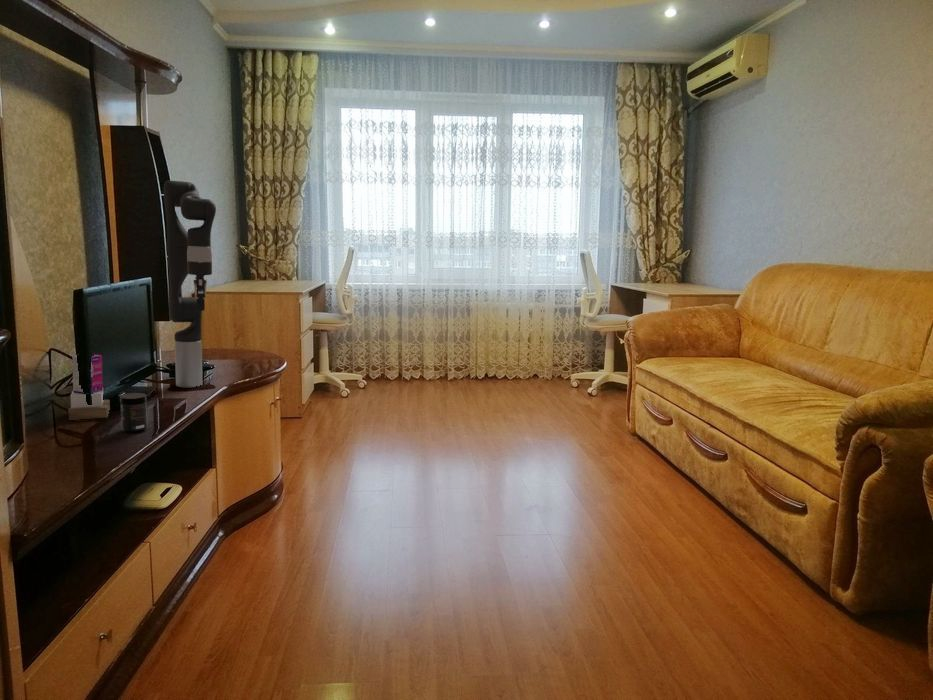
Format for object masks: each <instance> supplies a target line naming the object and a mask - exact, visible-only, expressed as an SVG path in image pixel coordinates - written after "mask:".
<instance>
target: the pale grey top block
mask: <svg viewBox="0 0 933 700" xmlns="http://www.w3.org/2000/svg"><path fill="white" fill-rule="evenodd" d="M103 394H104V390H103V391H99V392H95V393H93V394H91V396H92V405H88V404H87V402H86V394H80V393H73V390H72V391H71V393H70V406H71V408H82V407H99V406H102V404H103V401H104V400H105V399H104V400H103Z"/></svg>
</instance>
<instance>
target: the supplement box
mask: <svg viewBox="0 0 933 700" xmlns="http://www.w3.org/2000/svg"><path fill="white" fill-rule="evenodd" d="M77 355H78V354H76V355H72V391H73V393H80V394H84V392H83V389H81V385H79V371H78V363H77ZM90 371H91V377H92V392H93V393H95V392H99V391H103V392H104V386H103V384H104V383H103V355H102V354H101V355H100V354H94V356H92V357H91V370H90ZM86 394H89V393H86Z"/></svg>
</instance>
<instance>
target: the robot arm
mask: <svg viewBox="0 0 933 700" xmlns="http://www.w3.org/2000/svg"><path fill="white" fill-rule="evenodd" d="M163 202H164V210H165V219H166V235H167V236H166V247H167V249H166V250H167V251H166V252H167V265H168V276H169V279H168V280H169V283H168V284H169V291H168V292H169V293H168V295H169V297H168V298H169V299H168V300H169V301H168V303H169V304H168V307H169V308H168V309H169V311H168V312H169V317H170V321H171V322H173V323H190V325H188V326H187V327H186V328H184V329H181V330H178V331H175V333H174V359H175V362H174V363H175V386H176V387H179V388H196V386H197V387H201V386H203V343H202V342H203V341H202V339H203V337H202V318H203V311H205V307H206V306H205V304H206V303H205V300H206V293H207V284H208V283H207V280H206V279H205V276H211V275H212V274H213V258H212V257H213V255H212V245H211V244H212V243H211V239H212V237H211V235H212V234H211V233H212V227H213V224H214V220H215V217H216V213H217V207H216V204H215V202H214V201H213V200H211V199H209V198H202V197H201V196H200V193H199V190H198V188H197V186H196V184H195V183H193V182H189V181H182V180H181V181H180V180H166V181H165V182H164V184H163ZM176 208H180V213H181V215H182V218H184V219H186V220H189V221H203V223H202V225H200V226H197V227H190V228H189V229H187V230H186V228H185V227H184V226H183V224H182V222H181V221H180V219H179V216H178V215H177V210H176ZM188 275H191V276H195V279H193V287H194V294H195V297H194V296H193V297H192V296H188V297H187V296H184V297H183V296H181V297H180V293H181V288H182V285H183V284H184V282H185V280H186V279H187V277H188ZM200 385H201V386H200Z"/></svg>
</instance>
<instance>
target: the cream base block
mask: <svg viewBox="0 0 933 700" xmlns="http://www.w3.org/2000/svg"><path fill="white" fill-rule="evenodd" d="M110 405H111V401H110V399H104V401H103V404H102V406H99V407H82V408H71V405H70V406H69V408H68V410H67V411H68V413H67V414H68V421H69V420H75V419H88V418H107V417H109V415H108V414H110V412H109V410H110V411H111V406H110ZM107 419H108V418H107Z"/></svg>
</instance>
